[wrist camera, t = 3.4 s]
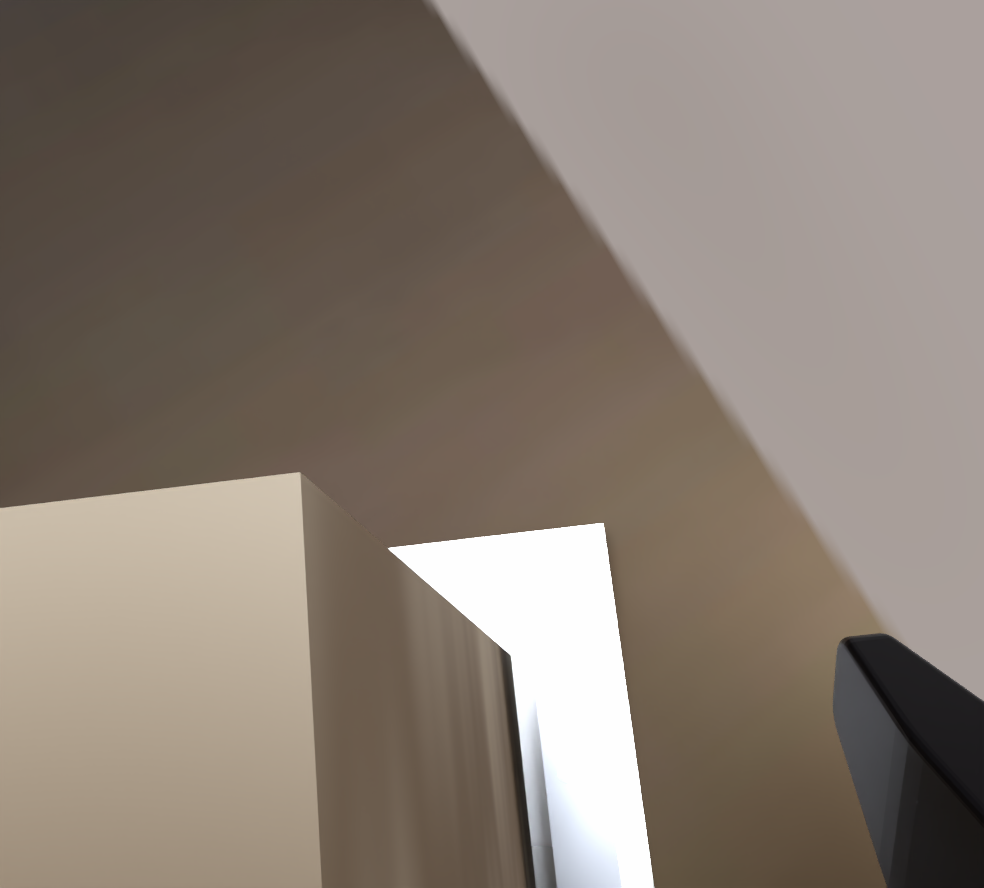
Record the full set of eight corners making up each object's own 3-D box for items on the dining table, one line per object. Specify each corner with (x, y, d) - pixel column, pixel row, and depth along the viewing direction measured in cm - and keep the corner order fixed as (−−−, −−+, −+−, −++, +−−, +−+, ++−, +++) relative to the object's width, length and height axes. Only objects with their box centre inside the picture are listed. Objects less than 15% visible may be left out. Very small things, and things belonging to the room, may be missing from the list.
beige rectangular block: (539, 921, 14) (401, 2413, 2) (385, 936, 14) (-729, 2451, 2) (510, 654, 15) (299, 469, 3) (367, 670, 16) (-429, 558, 3)
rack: (669, 1033, 15) (709, 1153, 11) (294, 1069, 15) (202, 1197, 11) (600, 533, 17) (612, 484, 13) (272, 571, 17) (189, 533, 13)
